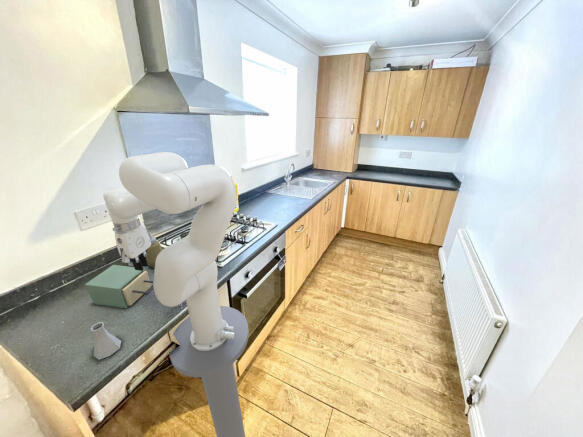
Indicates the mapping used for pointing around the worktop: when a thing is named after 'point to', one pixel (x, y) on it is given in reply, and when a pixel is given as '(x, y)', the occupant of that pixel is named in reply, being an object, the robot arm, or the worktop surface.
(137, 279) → the drawer
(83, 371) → the worktop surface
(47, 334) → the worktop surface
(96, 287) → the cabinet
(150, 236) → the squeeze bottle
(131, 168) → the robot arm
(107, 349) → the flask
